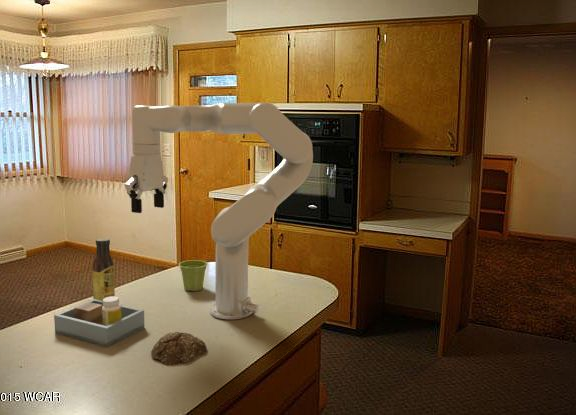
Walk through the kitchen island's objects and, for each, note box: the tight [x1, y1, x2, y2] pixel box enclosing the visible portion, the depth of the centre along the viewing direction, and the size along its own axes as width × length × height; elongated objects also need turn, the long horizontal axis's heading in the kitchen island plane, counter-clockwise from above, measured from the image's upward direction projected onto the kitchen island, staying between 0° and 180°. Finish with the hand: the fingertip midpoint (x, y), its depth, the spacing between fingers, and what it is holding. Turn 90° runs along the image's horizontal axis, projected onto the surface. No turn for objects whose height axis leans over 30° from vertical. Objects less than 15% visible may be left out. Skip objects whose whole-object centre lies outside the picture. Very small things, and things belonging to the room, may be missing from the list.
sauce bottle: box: [92, 237, 116, 301], centre depth 161 cm, size 7×6×20 cm
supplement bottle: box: [102, 295, 122, 326], centre depth 140 cm, size 5×5×8 cm
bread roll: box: [150, 331, 208, 366], centre depth 130 cm, size 13×12×5 cm
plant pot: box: [178, 259, 208, 292], centre depth 177 cm, size 9×9×9 cm
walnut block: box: [74, 301, 103, 324], centre depth 143 cm, size 5×5×5 cm
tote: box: [53, 298, 145, 348], centre depth 142 cm, size 18×14×5 cm
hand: (148, 209), depth 152 cm, fingers open, 9 cm apart
